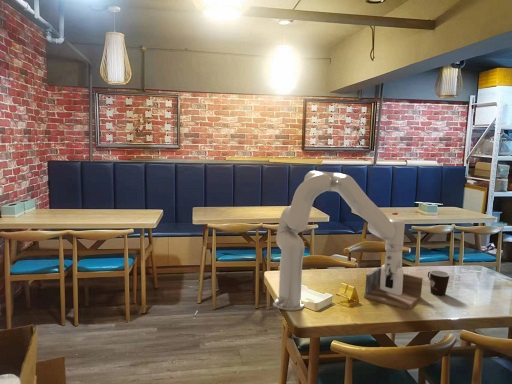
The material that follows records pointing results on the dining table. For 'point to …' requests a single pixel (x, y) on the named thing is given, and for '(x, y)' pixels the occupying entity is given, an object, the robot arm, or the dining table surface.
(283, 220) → the robot arm
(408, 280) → the shelf
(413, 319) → the dining table surface
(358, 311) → the dining table surface
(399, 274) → the white upright block
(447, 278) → the coffee mug
